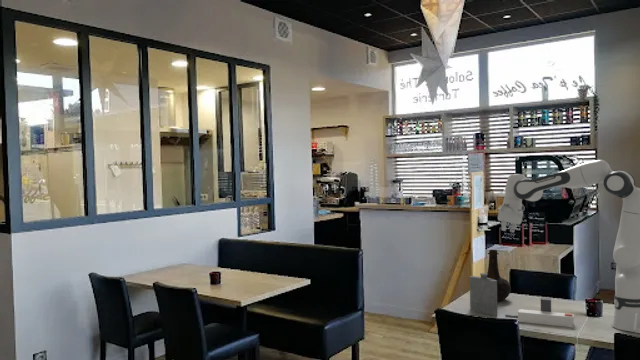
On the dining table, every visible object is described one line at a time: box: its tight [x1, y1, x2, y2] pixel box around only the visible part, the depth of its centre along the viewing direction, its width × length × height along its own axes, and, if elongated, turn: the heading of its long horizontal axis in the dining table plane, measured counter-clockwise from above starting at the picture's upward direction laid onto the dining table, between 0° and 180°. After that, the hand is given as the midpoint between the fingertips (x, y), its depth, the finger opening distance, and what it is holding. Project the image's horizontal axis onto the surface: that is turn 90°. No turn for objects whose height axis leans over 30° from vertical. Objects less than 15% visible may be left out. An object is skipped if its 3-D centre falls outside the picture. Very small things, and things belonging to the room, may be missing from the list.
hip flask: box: [469, 272, 498, 317], centre depth 269 cm, size 16×4×20 cm, turn 35°
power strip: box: [505, 308, 575, 328], centre depth 250 cm, size 6×30×5 cm, turn 64°
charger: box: [540, 296, 552, 312], centre depth 253 cm, size 7×4×10 cm, turn 154°
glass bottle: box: [486, 249, 512, 302], centre depth 296 cm, size 18×18×28 cm
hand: (507, 231), depth 270 cm, fingers open, 8 cm apart
